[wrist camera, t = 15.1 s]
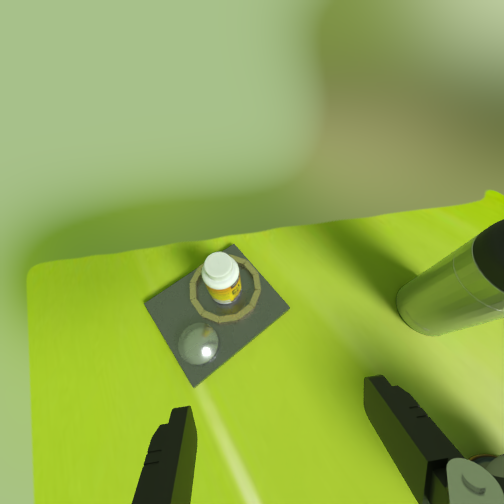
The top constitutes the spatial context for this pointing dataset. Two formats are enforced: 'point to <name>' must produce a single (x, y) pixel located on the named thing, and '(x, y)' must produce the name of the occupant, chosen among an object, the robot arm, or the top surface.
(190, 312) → the carrier plate
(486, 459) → the apothecary jar
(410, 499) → the top surface
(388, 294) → the top surface
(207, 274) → the supplement bottle
